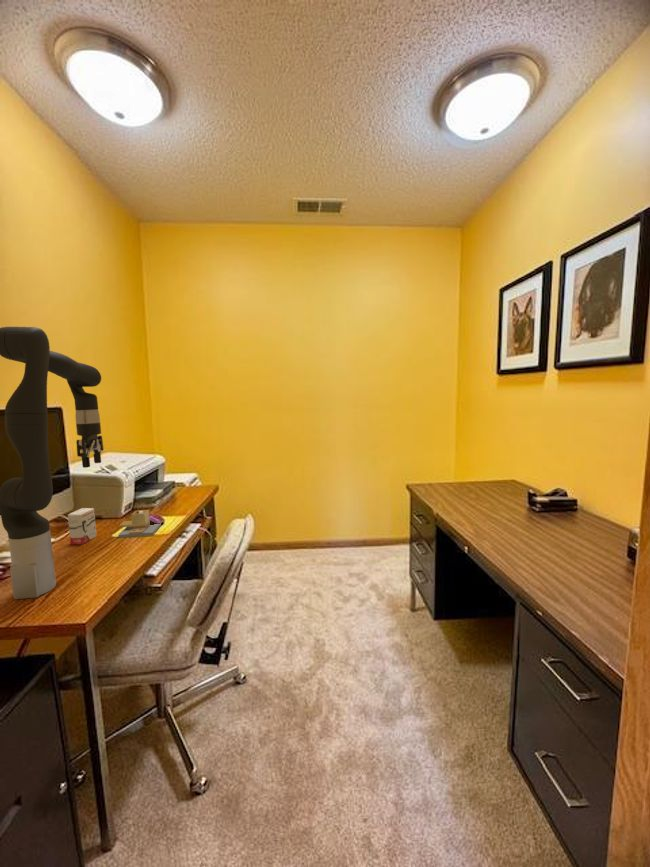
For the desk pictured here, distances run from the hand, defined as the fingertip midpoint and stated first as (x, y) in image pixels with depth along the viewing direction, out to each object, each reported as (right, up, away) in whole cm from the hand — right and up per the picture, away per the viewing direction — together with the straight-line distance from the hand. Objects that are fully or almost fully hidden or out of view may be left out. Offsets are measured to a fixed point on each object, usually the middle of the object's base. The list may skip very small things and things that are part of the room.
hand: (92, 465), depth 135 cm
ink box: (-7, -30, +5) cm, 31 cm away
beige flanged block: (+8, -26, +14) cm, 31 cm away
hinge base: (+11, -28, +15) cm, 34 cm away
